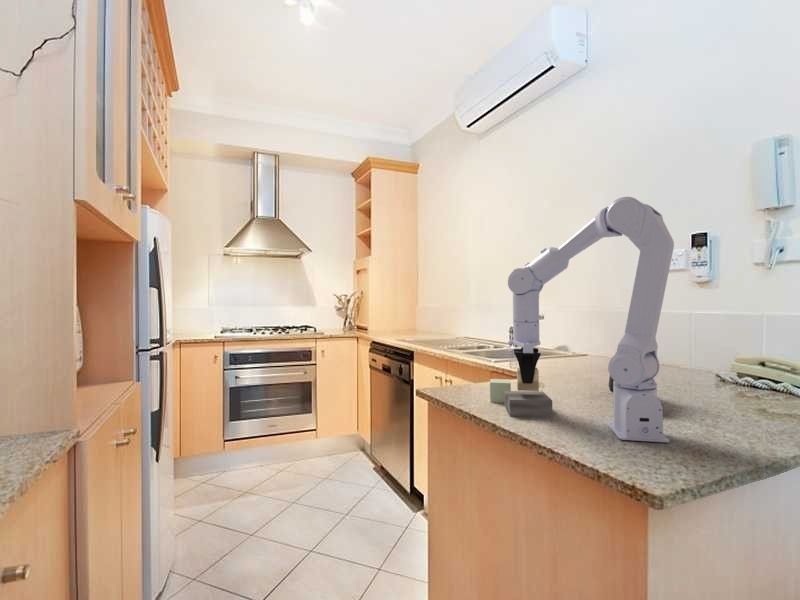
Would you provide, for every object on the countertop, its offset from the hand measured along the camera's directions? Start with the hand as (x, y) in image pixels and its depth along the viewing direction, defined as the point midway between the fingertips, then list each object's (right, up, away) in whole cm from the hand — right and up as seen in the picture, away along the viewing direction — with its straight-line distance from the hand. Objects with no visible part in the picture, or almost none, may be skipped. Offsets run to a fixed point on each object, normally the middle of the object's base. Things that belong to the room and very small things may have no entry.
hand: (526, 381), depth 95 cm
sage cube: (-3, -7, +11) cm, 14 cm away
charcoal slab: (0, -7, 0) cm, 7 cm away
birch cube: (0, -2, 0) cm, 2 cm away
